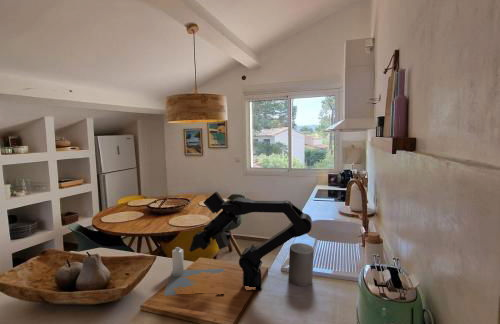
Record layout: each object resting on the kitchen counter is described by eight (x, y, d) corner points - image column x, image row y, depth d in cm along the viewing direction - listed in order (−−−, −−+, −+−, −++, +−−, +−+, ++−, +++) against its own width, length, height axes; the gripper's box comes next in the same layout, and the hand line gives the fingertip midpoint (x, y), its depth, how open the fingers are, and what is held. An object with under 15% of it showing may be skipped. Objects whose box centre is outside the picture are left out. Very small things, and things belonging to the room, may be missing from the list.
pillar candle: (283, 277, 114) (284, 242, 112) (302, 271, 118) (303, 238, 117) (298, 289, 105) (299, 252, 104) (317, 283, 110) (319, 247, 108)
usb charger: (185, 272, 115) (185, 245, 114) (180, 277, 111) (180, 250, 110) (175, 270, 116) (175, 244, 115) (170, 275, 112) (170, 249, 111)
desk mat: (224, 270, 119) (224, 268, 119) (224, 294, 101) (224, 292, 101) (172, 272, 116) (172, 270, 116) (162, 297, 99) (162, 295, 99)
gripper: (228, 247, 98) (199, 272, 101) (241, 229, 116) (216, 251, 119) (207, 223, 98) (179, 250, 102) (223, 209, 116) (199, 232, 120)
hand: (195, 246), depth 111 cm, fingers open, 9 cm apart
